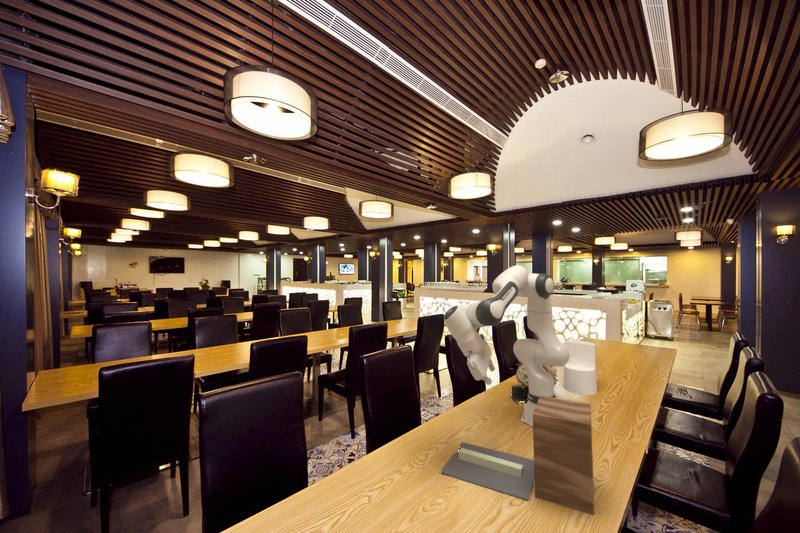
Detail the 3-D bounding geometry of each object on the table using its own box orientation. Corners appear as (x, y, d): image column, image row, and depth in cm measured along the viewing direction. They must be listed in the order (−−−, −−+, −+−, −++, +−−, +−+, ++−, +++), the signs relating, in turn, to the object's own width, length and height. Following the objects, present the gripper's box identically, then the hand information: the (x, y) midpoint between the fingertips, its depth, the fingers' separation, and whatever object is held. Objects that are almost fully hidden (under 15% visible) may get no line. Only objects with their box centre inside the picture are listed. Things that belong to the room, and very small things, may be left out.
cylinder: (571, 383, 209) (570, 339, 210) (601, 390, 196) (599, 343, 197) (559, 389, 198) (557, 343, 199) (590, 397, 185) (588, 347, 186)
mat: (462, 442, 137) (462, 441, 137) (539, 462, 122) (539, 461, 122) (439, 473, 116) (439, 471, 116) (528, 501, 101) (528, 499, 101)
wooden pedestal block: (542, 467, 118) (540, 395, 119) (593, 481, 110) (590, 403, 111) (535, 497, 103) (532, 414, 104) (593, 515, 95) (590, 424, 96)
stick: (461, 455, 127) (461, 447, 127) (523, 474, 114) (523, 465, 114) (458, 459, 124) (458, 451, 124) (521, 478, 112) (521, 469, 112)
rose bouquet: (517, 407, 172) (515, 350, 173) (506, 388, 201) (504, 340, 202) (568, 409, 169) (566, 351, 170) (549, 389, 198) (547, 340, 199)
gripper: (474, 356, 114) (495, 389, 114) (483, 331, 132) (501, 360, 132) (459, 362, 117) (479, 395, 117) (470, 337, 135) (488, 366, 135)
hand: (491, 376), depth 124 cm, fingers open, 8 cm apart
